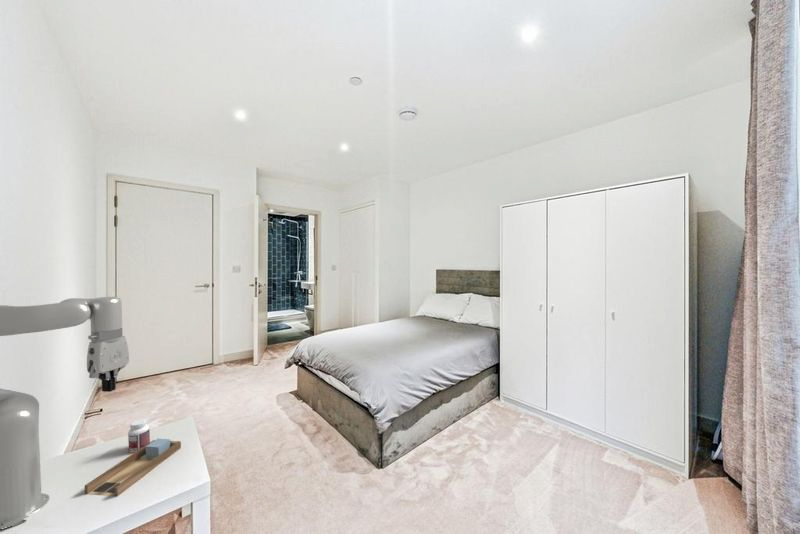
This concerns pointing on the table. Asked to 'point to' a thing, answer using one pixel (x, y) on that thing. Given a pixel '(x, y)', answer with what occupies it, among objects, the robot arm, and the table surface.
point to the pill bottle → (138, 435)
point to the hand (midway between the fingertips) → (108, 390)
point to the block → (157, 447)
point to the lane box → (128, 472)
